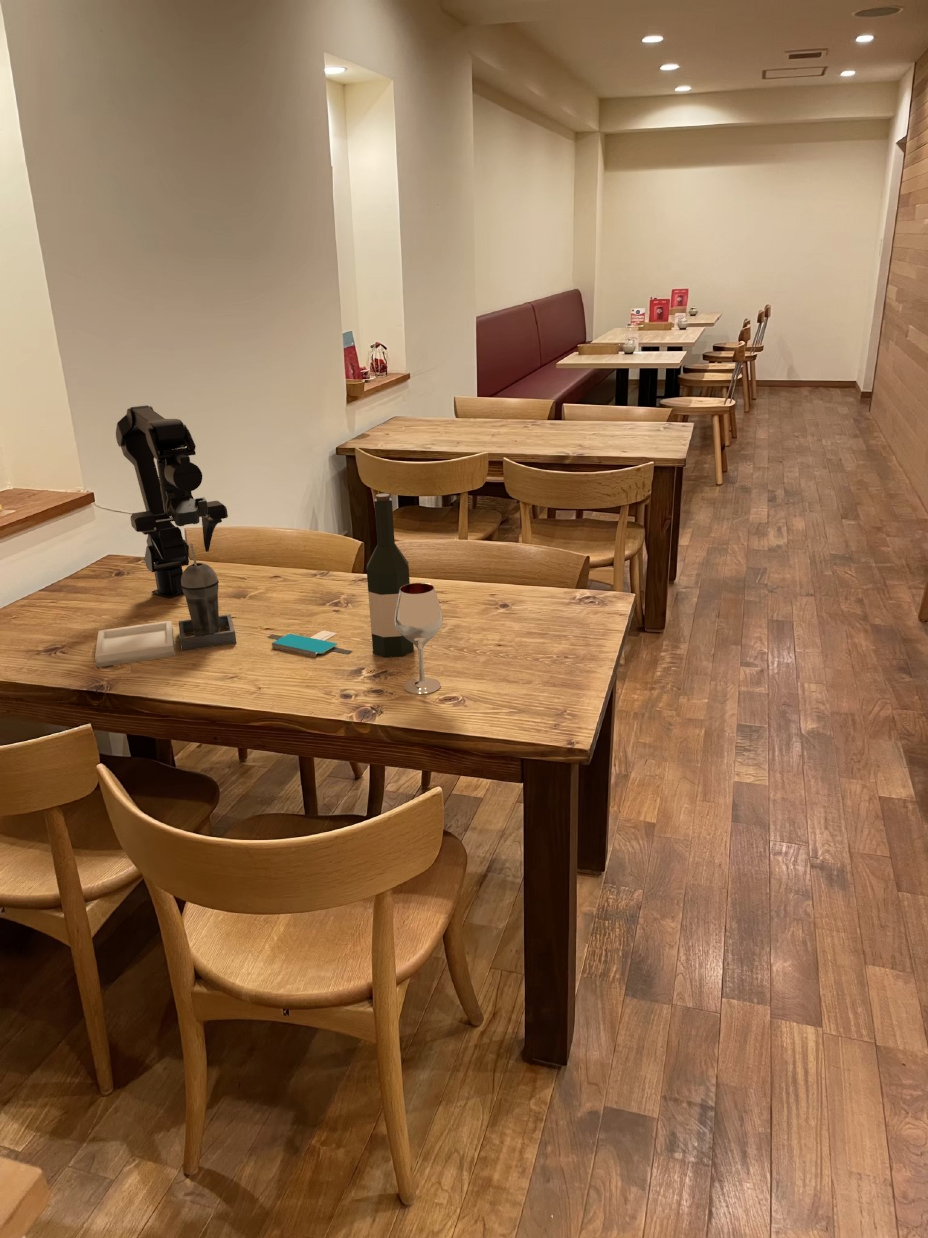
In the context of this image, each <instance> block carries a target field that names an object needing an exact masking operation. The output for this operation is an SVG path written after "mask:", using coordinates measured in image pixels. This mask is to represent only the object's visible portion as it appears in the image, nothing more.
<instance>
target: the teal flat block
mask: <svg viewBox="0 0 928 1238" xmlns="http://www.w3.org/2000/svg"><path fill="white" fill-rule="evenodd" d="M337 635H338V633H337V632H333V631H328V630H321V631H319V632H318V633H315V634H314V635H312V636H311V637H309V636H303V635H298V634H294V633H289V634H285V635H284V636H283V635H277V634H270V635H269V636H267V637H268V638H271V639H275V641H273V642H271V647H272V649H276V650H280V651H286V652H289V653H295V654H300V655H304V656H308V657H313V658H316V657H317V654H320V656H323V655H324V654H329V653H332V652H333V653H334V652H335V653H341V654H346V655H349V654H350V653H351V652H353V650H348V649H345V648H342V647H336V646H337V645H338V643H336V642H332V641H328V640H330V639H331V638H333V637H335V636H337Z"/></svg>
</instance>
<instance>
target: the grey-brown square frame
mask: <svg viewBox="0 0 928 1238" xmlns="http://www.w3.org/2000/svg"><path fill="white" fill-rule="evenodd" d="M224 628H225V629H226V628H228V630H227V631H225V630H224V631H219V632H217V633H210V634H203V635H190V636H186V634H190V633H194V629H193V625H192V621H191V619H186V620H179V621H178V632H179V641H180V647H181V648H180V649H181V652H185V651H192V650H193V651H194V650H199V649H208V648H212V647H213V648H214V647H219V646H227V645H233V644H237V636H236V630H235V626H234V621H233V617H232V614H231V613H229V614H222V615H221V614H219V629H224Z"/></svg>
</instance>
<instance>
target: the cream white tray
mask: <svg viewBox="0 0 928 1238" xmlns="http://www.w3.org/2000/svg"><path fill="white" fill-rule="evenodd" d="M174 639H175V638H174V627H173V622H172V620H167V621H159V622H151V623H145V624H138V625H137V624H136V625H131V626H123V627H116V628H107V629H101V630H98V633H97V639H96V640H97V641H96V647H95V655H94V659H95V664H96V668H102V667H108V666H115V665H121V664H127V663H135V662H141V661H149V660H154V659H155V660H156V659H163V658H169V657H175V640H174Z"/></svg>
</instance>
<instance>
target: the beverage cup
mask: <svg viewBox="0 0 928 1238" xmlns="http://www.w3.org/2000/svg"><path fill="white" fill-rule="evenodd" d="M189 547H190V551H191V556H192V560H193V563H192V564H189V565H187V567H186V568H185V569H184V571H183V574H182V577H181V588H182V590H183V593H182V594H183V595H184V597H185V600H186V604H187V605H186V606H187V609H188V612H189V617H190V620H191V621H192V625H193V629H194V632H193V633H194V636H196V635H203V634H210V633H217V632H220V628H219V616H220V613H219V611H220V610H219V596H218V595H219V594H218V593H219V579H218V576H217V573H216V572H215V570H214V569H213V567H211V566H210V565H208V564H206V563H203V562H197V558H196V554H195V549H194V544H193V542H192V543H191V542H190V543H189Z"/></svg>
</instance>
